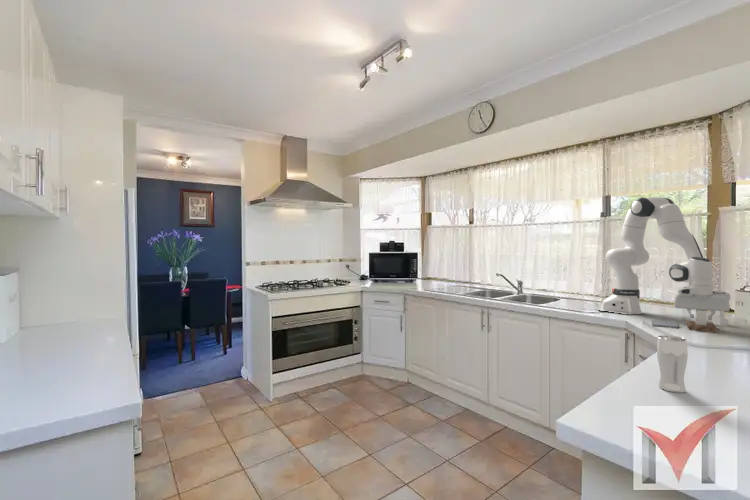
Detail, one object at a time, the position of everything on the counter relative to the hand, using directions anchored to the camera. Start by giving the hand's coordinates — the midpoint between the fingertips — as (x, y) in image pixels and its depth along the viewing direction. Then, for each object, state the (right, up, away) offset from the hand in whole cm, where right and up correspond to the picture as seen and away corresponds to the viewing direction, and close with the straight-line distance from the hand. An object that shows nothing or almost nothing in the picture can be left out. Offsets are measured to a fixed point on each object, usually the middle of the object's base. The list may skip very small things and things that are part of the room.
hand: (700, 318), depth 176 cm
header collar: (0, -5, 0) cm, 5 cm away
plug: (0, -5, 0) cm, 5 cm away
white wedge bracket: (+17, -5, +8) cm, 19 cm away
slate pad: (-11, -5, +8) cm, 15 cm away
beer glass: (-73, -7, -71) cm, 102 cm away
